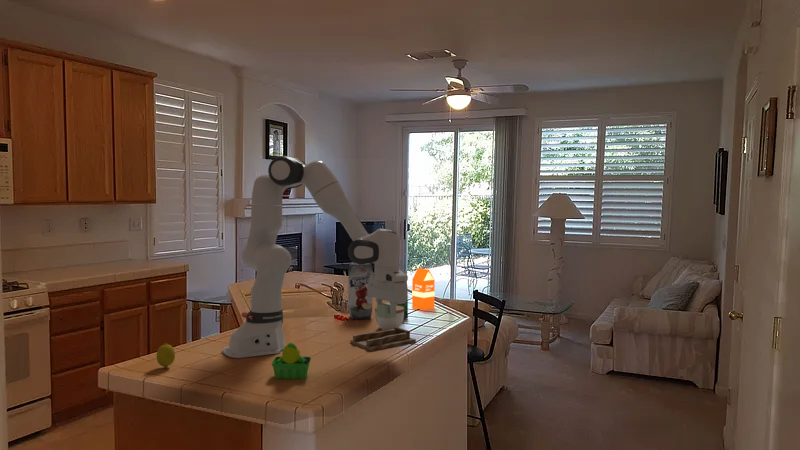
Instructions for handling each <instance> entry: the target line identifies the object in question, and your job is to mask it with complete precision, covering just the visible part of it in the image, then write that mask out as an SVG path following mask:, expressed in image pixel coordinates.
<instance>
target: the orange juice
mask: <svg viewBox="0 0 800 450" xmlns="http://www.w3.org/2000/svg"><path fill="white" fill-rule="evenodd" d="M434 278H435V277H434V276H433V274H432V273H431V271H430V269H428V268H419V267H417V269H416V272H415V273H414V275H413V277H412V282H411V283H412V289H411V290H412V291H411V295H412V296H411V297H412V299H411V301H412V302H411V303H412V305H411V307H412V308H415V309H420V310H429V309H435V283H436V281H435V280H436V279H434Z"/></svg>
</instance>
